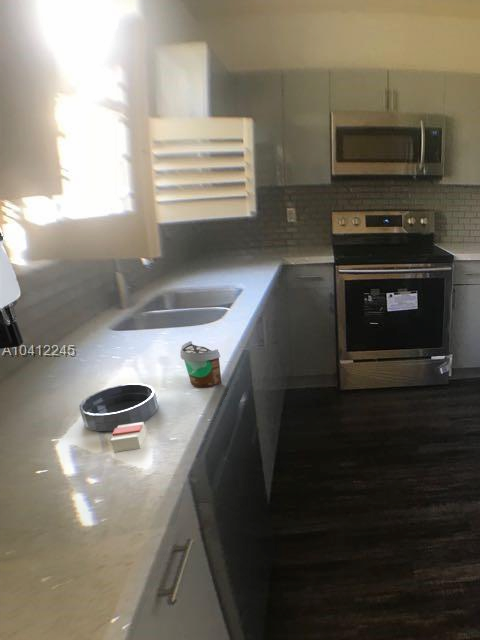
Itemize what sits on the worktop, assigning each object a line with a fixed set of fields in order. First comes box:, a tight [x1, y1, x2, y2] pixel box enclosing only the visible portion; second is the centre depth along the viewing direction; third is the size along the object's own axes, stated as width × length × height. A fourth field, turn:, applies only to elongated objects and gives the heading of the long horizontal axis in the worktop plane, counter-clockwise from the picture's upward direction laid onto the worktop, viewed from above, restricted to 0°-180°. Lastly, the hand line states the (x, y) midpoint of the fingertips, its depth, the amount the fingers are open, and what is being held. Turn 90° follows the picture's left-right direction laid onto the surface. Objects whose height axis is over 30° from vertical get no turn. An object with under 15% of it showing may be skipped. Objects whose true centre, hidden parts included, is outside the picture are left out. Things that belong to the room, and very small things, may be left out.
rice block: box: [109, 421, 147, 453], centre depth 95 cm, size 5×6×3 cm
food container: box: [179, 340, 223, 389], centre depth 118 cm, size 12×6×10 cm, turn 55°
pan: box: [79, 383, 159, 432], centre depth 105 cm, size 15×15×4 cm
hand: (11, 345), depth 78 cm, fingers closed
